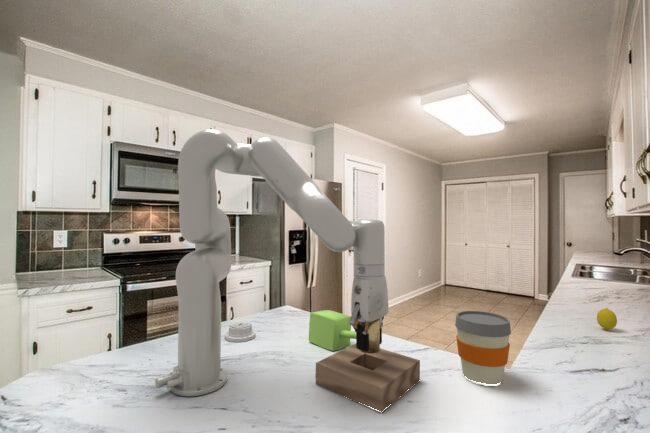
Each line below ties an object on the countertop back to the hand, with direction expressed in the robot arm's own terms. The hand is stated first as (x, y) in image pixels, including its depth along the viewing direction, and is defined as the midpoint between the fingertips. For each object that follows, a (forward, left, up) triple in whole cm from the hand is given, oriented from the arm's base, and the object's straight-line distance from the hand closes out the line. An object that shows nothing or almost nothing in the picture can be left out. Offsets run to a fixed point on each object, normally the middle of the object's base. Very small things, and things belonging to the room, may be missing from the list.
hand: (369, 345), depth 78 cm
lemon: (+90, -44, -9) cm, 100 cm away
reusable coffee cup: (+21, -20, -9) cm, 30 cm away
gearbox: (+14, +22, -9) cm, 28 cm away
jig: (0, 0, -9) cm, 9 cm away
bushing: (0, 0, -1) cm, 1 cm away
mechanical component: (-3, +49, -9) cm, 50 cm away
